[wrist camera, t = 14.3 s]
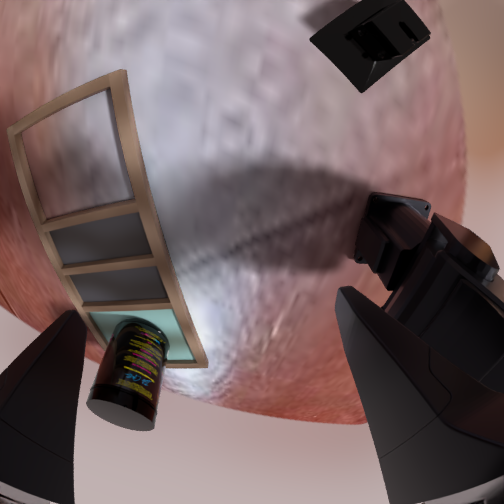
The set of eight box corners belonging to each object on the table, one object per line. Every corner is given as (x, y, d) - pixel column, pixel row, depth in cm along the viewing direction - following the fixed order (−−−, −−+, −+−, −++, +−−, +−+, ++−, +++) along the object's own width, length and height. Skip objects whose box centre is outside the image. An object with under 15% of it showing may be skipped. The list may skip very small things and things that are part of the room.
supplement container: (115, 307, 25) (80, 390, 16) (175, 326, 27) (156, 416, 18) (115, 343, 29) (91, 416, 20) (167, 359, 30) (153, 436, 21)
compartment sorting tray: (13, 126, 15) (6, 129, 14) (126, 69, 14) (120, 69, 13) (117, 360, 31) (115, 365, 30) (208, 361, 31) (207, 367, 30)
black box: (351, 114, 17) (378, 121, 13) (280, 43, 14) (291, 28, 10) (440, 39, 12) (474, 36, 9) (384, -26, 10) (411, -43, 6)
